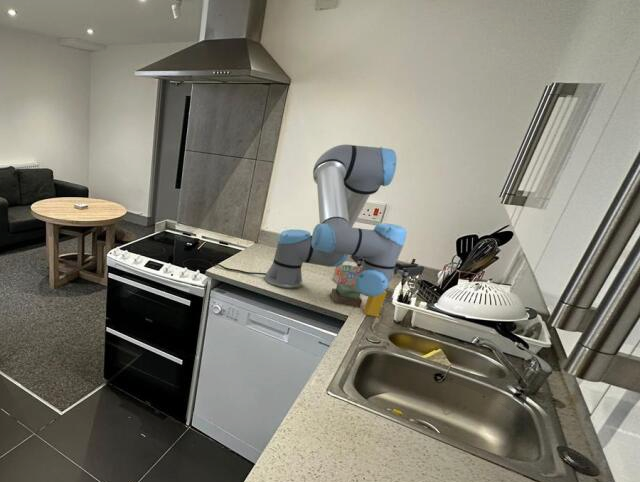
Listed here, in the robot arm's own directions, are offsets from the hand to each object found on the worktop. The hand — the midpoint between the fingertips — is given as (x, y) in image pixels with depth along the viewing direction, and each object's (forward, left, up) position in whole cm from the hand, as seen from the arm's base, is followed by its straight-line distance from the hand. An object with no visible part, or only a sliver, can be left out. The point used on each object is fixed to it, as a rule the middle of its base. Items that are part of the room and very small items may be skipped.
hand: (389, 257), depth 133 cm
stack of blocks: (+9, +42, -25) cm, 50 cm away
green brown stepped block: (-3, +18, -25) cm, 31 cm away
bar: (+4, +9, -25) cm, 27 cm away
